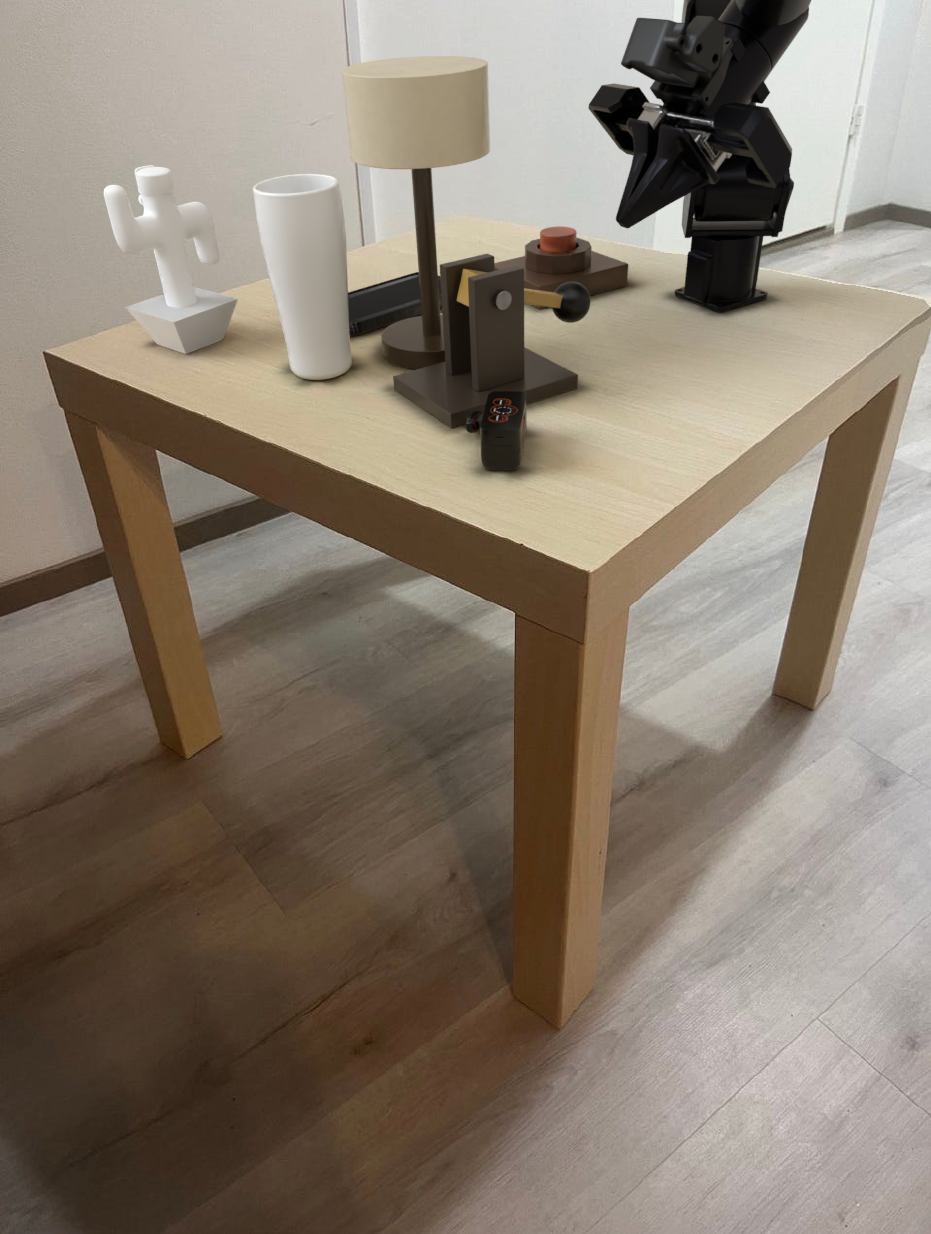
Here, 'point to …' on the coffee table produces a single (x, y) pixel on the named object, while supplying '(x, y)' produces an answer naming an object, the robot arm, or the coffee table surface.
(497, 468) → the wireless earbuds
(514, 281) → the lamp switch
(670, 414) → the coffee table surface
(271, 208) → the drinking glass
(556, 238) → the button
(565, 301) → the lever
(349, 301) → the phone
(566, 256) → the switch box
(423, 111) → the lamp
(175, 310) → the figurine
